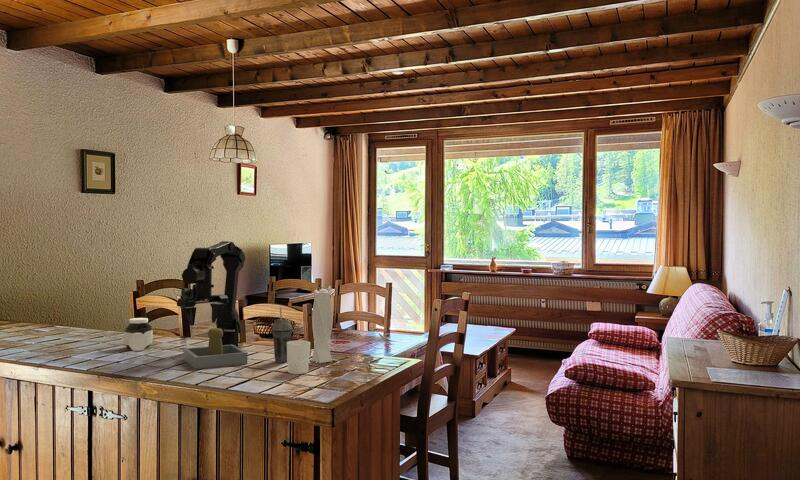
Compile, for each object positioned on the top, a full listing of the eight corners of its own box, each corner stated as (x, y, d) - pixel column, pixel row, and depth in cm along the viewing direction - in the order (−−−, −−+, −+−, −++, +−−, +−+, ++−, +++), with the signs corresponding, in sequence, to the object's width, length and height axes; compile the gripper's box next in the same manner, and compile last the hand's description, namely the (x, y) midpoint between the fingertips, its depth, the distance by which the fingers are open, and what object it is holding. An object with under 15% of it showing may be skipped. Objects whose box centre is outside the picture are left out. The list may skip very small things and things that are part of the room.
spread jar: (143, 345, 237) (143, 316, 237) (161, 348, 231) (161, 319, 231) (116, 349, 227) (116, 320, 227) (133, 352, 221) (134, 322, 221)
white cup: (298, 375, 188) (299, 345, 188) (281, 372, 193) (281, 342, 193) (314, 371, 195) (315, 342, 195) (297, 368, 199) (297, 339, 199)
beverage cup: (295, 360, 211) (296, 306, 211) (283, 364, 205) (284, 308, 205) (279, 358, 214) (280, 305, 214) (267, 362, 208) (268, 307, 208)
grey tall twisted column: (338, 362, 210) (339, 285, 210) (320, 365, 205) (321, 286, 205) (324, 358, 216) (325, 284, 216) (306, 361, 211) (307, 285, 211)
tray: (232, 354, 220) (232, 344, 220) (247, 363, 205) (247, 352, 205) (183, 359, 210) (183, 348, 210) (194, 369, 195) (195, 357, 195)
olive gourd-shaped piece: (226, 357, 210) (227, 327, 210) (219, 360, 204) (220, 329, 204) (210, 356, 211) (211, 326, 211) (203, 360, 205) (203, 329, 205)
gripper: (210, 279, 225) (210, 319, 225) (167, 282, 209) (167, 325, 209) (229, 280, 218) (229, 321, 218) (186, 284, 203) (186, 328, 203)
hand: (203, 324), depth 212 cm, fingers open, 9 cm apart
